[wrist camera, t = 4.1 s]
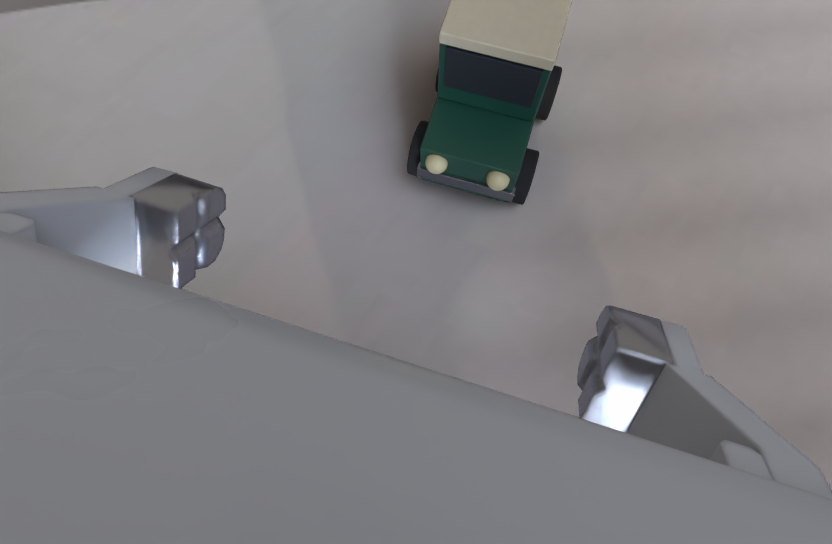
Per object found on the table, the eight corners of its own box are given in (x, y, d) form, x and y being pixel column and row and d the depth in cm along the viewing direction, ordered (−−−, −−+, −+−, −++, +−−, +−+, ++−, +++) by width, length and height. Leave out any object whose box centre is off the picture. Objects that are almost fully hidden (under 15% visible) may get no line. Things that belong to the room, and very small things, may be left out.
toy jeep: (450, 56, 30) (460, -80, 22) (555, 83, 30) (604, -48, 22) (403, 194, 28) (395, 97, 20) (516, 225, 27) (554, 139, 19)
